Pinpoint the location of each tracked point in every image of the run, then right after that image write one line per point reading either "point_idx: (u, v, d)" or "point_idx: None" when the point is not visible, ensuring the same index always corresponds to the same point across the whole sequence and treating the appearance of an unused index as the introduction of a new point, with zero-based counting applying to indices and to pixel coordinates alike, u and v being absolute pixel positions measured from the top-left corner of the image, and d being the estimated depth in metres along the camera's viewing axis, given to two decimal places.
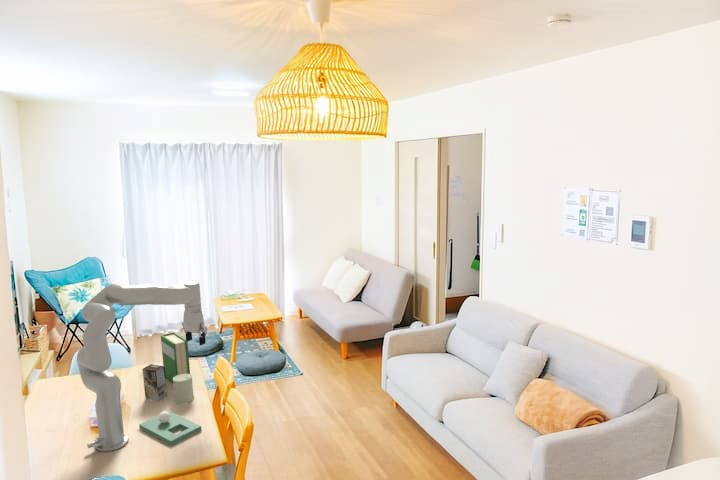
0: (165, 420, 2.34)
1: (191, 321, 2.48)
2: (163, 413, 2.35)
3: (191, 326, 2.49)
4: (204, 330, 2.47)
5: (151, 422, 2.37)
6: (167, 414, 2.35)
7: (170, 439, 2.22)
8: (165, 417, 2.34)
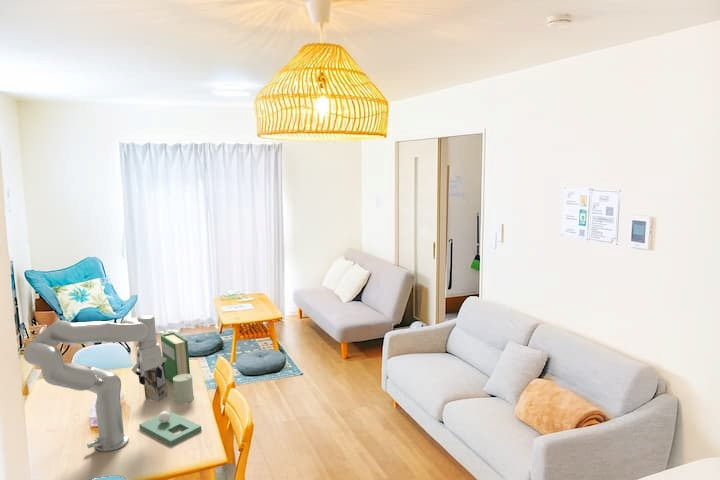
0: (165, 420, 2.34)
1: (155, 355, 2.36)
2: (163, 413, 2.35)
3: (155, 360, 2.36)
4: (164, 360, 2.42)
5: (151, 422, 2.37)
6: (167, 414, 2.35)
7: (170, 439, 2.22)
8: (165, 417, 2.34)
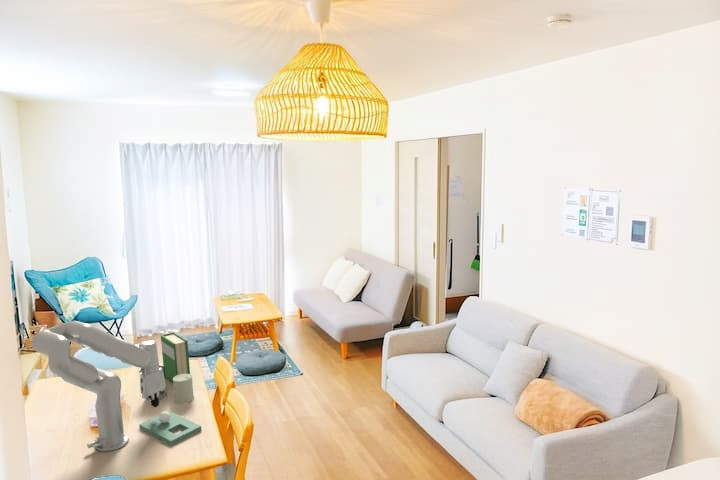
0: (165, 420, 2.34)
1: (158, 379, 2.38)
2: (163, 413, 2.35)
3: (158, 385, 2.38)
4: (162, 389, 2.43)
5: (151, 422, 2.37)
6: (167, 414, 2.35)
7: (170, 439, 2.22)
8: (165, 417, 2.34)
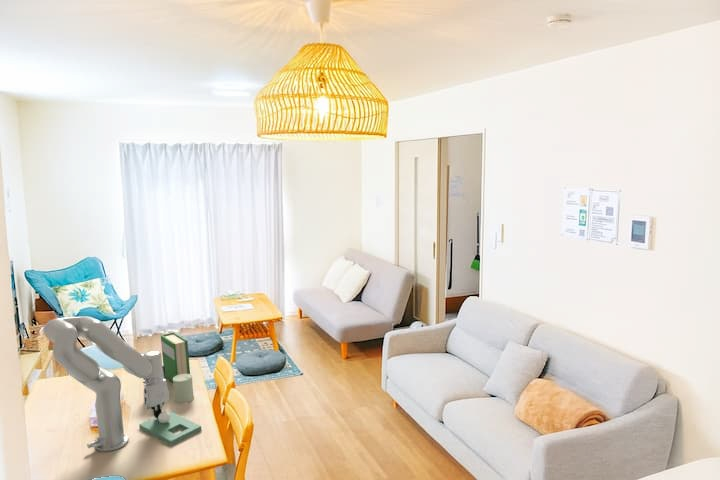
0: (165, 420, 2.34)
1: (162, 390, 2.37)
2: (163, 413, 2.35)
3: (162, 396, 2.37)
4: None
5: (151, 422, 2.37)
6: (167, 414, 2.35)
7: (170, 439, 2.22)
8: (165, 417, 2.34)
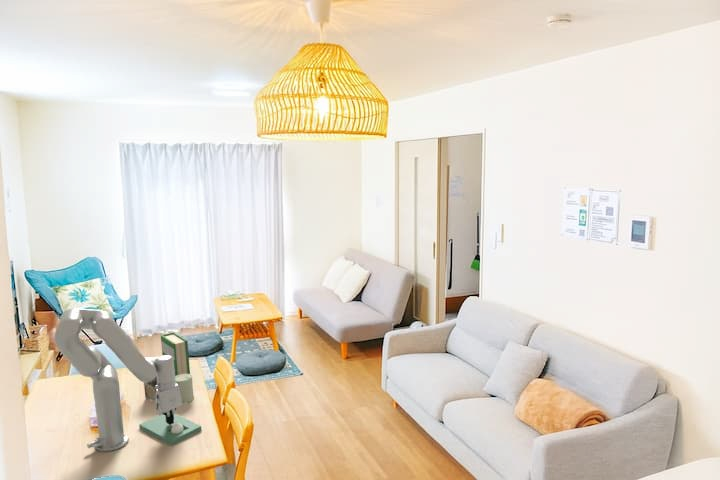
0: (172, 431, 2.27)
1: (174, 396, 2.31)
2: None
3: (174, 401, 2.31)
4: None
5: (151, 422, 2.37)
6: None
7: (170, 439, 2.22)
8: (171, 431, 2.29)
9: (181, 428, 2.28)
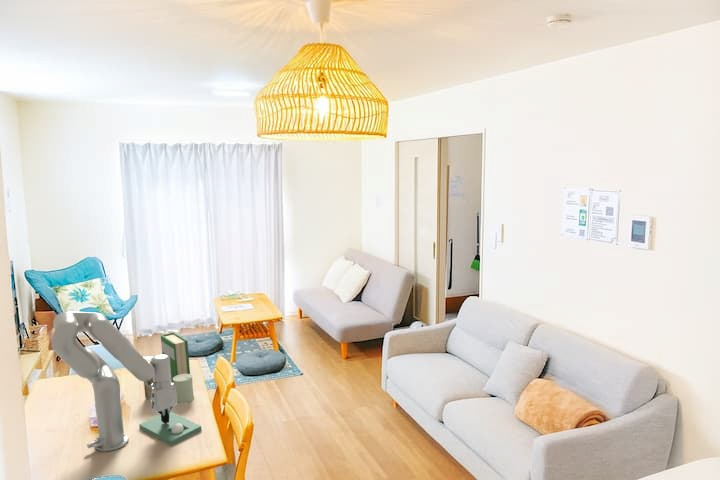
0: (172, 431, 2.28)
1: (170, 395, 2.33)
2: None
3: (170, 400, 2.33)
4: None
5: (151, 422, 2.37)
6: None
7: (170, 439, 2.22)
8: None
9: (181, 428, 2.28)
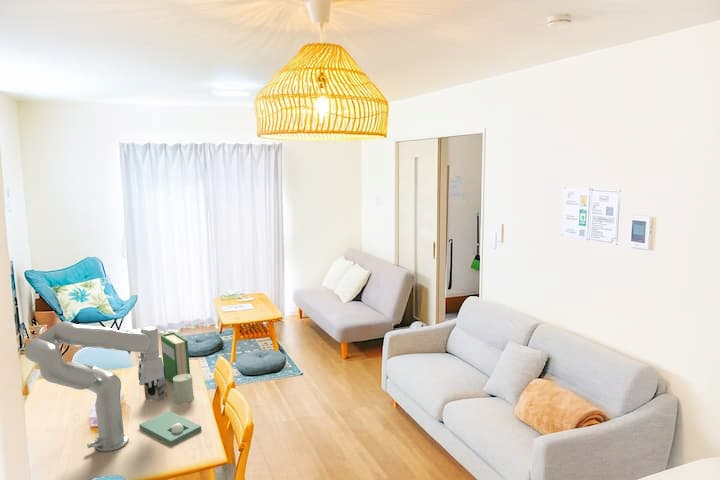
0: (172, 431, 2.28)
1: (157, 367, 2.35)
2: None
3: (157, 372, 2.36)
4: (160, 377, 2.40)
5: (151, 422, 2.37)
6: None
7: (170, 439, 2.22)
8: None
9: (181, 428, 2.28)
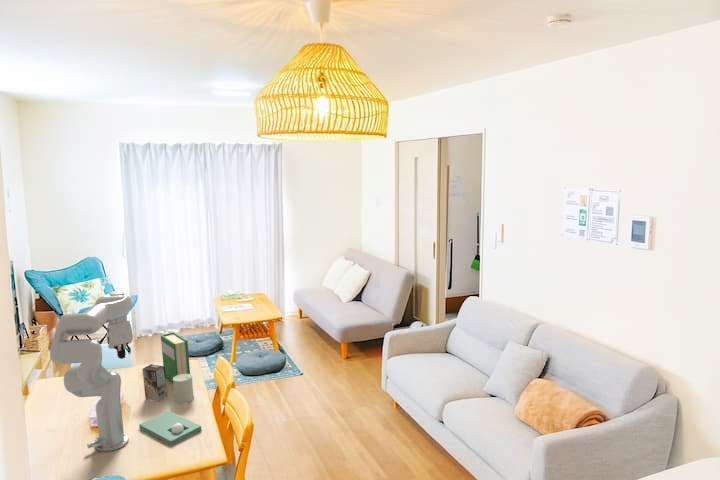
0: (172, 431, 2.28)
1: (125, 330, 2.39)
2: None
3: (125, 336, 2.39)
4: (129, 341, 2.43)
5: (151, 422, 2.37)
6: None
7: (170, 439, 2.22)
8: None
9: (181, 428, 2.28)
